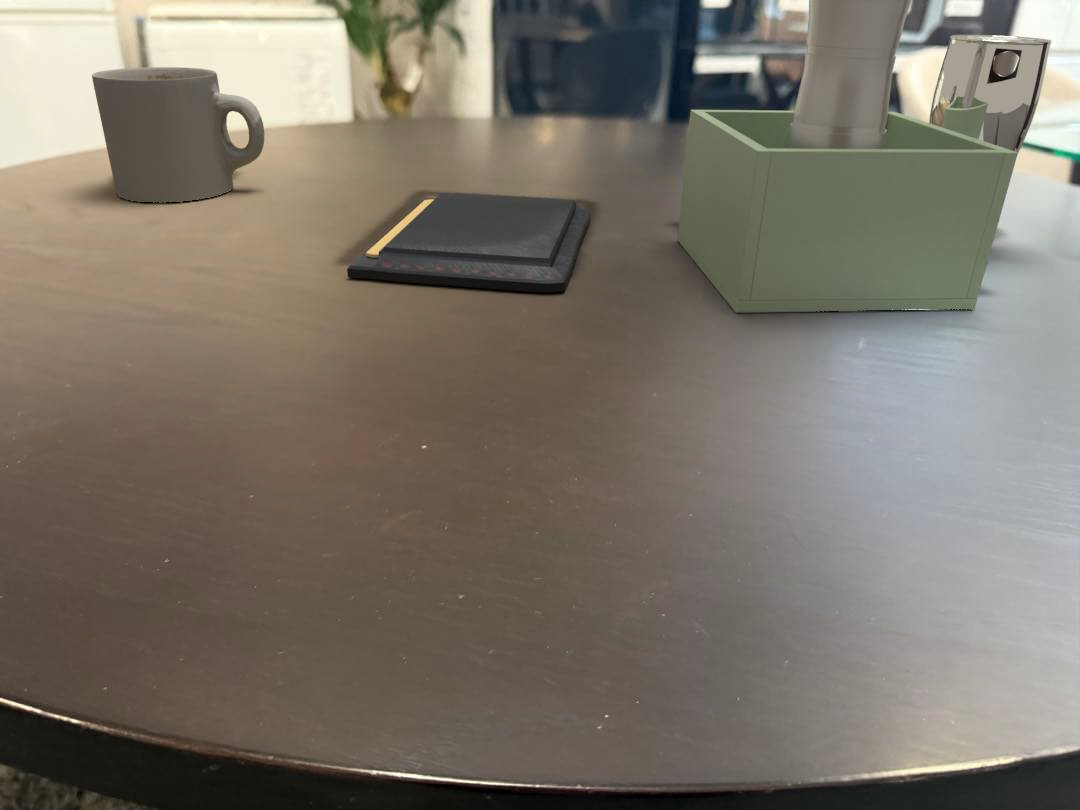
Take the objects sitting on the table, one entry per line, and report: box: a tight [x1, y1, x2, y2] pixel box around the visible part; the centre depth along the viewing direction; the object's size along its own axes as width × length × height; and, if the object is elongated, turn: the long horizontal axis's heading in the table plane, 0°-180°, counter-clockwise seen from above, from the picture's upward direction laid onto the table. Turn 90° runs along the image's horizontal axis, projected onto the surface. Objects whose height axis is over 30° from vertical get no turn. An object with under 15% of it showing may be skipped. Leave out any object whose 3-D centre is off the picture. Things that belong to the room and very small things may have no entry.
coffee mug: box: [91, 66, 265, 204], centre depth 74 cm, size 13×10×10 cm
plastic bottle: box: [783, 0, 912, 149], centre depth 52 cm, size 6×7×20 cm
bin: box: [677, 109, 1019, 314], centre depth 57 cm, size 16×16×10 cm
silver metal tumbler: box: [928, 34, 1053, 156], centre depth 63 cm, size 7×7×15 cm
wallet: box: [346, 192, 591, 294], centre depth 63 cm, size 20×2×15 cm
